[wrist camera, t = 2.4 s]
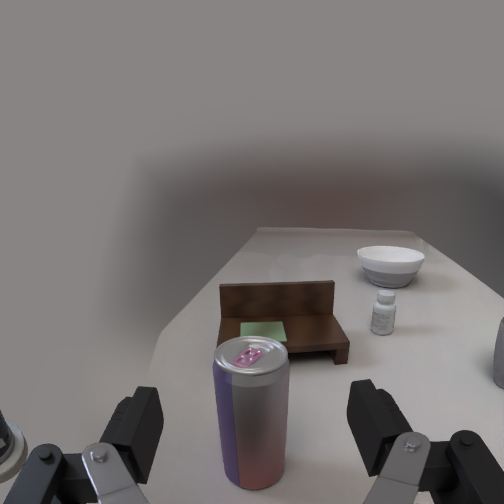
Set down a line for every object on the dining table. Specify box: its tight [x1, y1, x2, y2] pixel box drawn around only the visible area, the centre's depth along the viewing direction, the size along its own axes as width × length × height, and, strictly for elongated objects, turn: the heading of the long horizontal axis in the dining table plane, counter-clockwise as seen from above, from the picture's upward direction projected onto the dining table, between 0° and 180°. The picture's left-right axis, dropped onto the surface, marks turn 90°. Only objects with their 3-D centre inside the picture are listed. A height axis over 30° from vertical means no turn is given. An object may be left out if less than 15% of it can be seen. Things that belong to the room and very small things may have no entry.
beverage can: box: [213, 336, 290, 489], centre depth 25 cm, size 6×6×15 cm
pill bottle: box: [371, 290, 396, 335], centre depth 56 cm, size 4×4×8 cm
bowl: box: [357, 246, 425, 288], centre depth 83 cm, size 19×20×8 cm
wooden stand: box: [216, 280, 350, 365], centre depth 51 cm, size 20×12×10 cm, turn 91°
